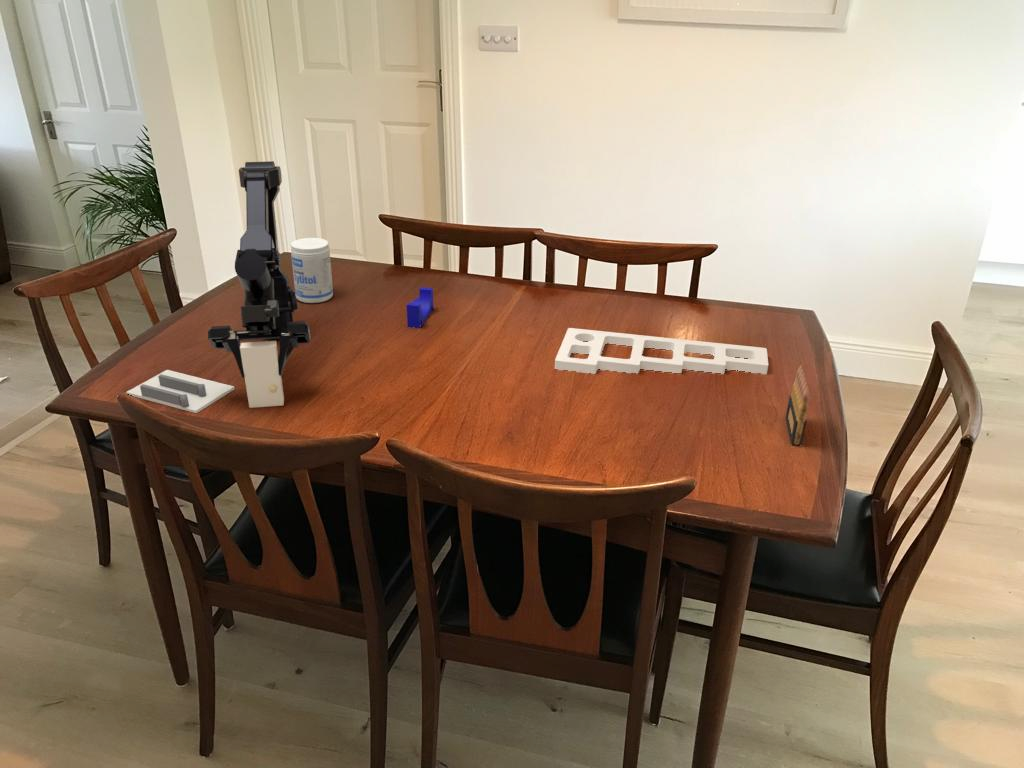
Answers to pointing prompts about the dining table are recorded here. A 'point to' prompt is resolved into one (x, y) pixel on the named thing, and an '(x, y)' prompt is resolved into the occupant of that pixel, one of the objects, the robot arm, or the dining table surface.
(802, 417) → the tan blue flat packet
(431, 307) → the blue u-shaped block
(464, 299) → the dining table surface
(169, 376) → the slotted base plate
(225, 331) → the robot arm
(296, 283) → the supplement tub
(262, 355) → the door panel
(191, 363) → the dining table surface
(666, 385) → the dining table surface
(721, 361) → the holder
